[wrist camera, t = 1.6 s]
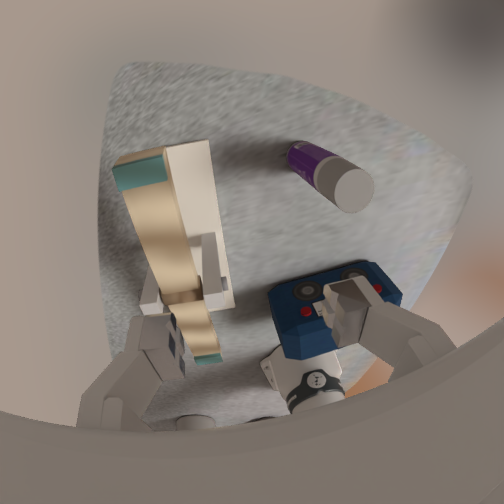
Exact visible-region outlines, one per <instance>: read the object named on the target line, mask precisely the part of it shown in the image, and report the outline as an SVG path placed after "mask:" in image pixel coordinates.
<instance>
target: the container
mask: <svg viewBox="0 0 504 504" xmlns="http://www.w3.org/2000/svg"><path fill="white" fill-rule="evenodd" d="M286 159H287V163H288V165H289V167H290V168H291V169H292V170H293V171H295V172H296V173H297V174H298V175H300V176H301V177H302V178H303V179H304V180H305V181H307V182H308V183H309V184H310V185H311V186H312V187H314V188H315V189H316V190H317V191H318V192H319V193H321V194H322V195H323V196H325V197H326V198H327V199H328V200H330V201H331V202H332V203H333V204H335V205H336V206H337V207H338V208H339V209H341V210H342V211H344V212H346V213H356V212H359V211H361V210H363V209H364V208H365V207H366V206H367V205H368V204H369V203H370V201H371V199H372V197H373V194H374V182H373V179H372V177H371V176H370V174H369V173H368V172H366V171H365V170H363V169H361V168H360V167H358V166H356V165H354V164H353V163H351V162H349V161H347V160H346V159H344V158H342V157H340V156H338V155H336V154H334V153H332V152H330V151H327V150H325V149H323V148H321V147H319V146H316V145H314V144H312V143H310V142H307V141H298V142H296V143H294V144H293V145H291V147H290V148H289V149H288V152H287V156H286Z"/></svg>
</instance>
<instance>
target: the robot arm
mask: <svg viewBox="0 0 504 504" xmlns="http://www.w3.org/2000/svg"><path fill="white" fill-rule="evenodd" d="M323 294H324V295H325V297H326V298H325V299H324V301H323V302H322V314H323V318H324V321H325V323H326V325H327V326H328V327H329V328H331V329H332V334H331V335H332V337H333V339H334V341H335V343H336V345H337V347H338V348H340V347H344V346H348V345H352V344H355V343H359V344H360V345H362V346H363V347H365V348H366V349H367V350H369V351H370V352H372V353H373V354H375V355H376V356H378V357H379V358H381V359H382V360H383V361H385V362H386V363H388V364H389V365H391V366H392V367H394V368H395V369H394V371H393V372H392V374H391V376H390V378H389V380H388V383H386V384H383V385H381V386H378V387H376V388H373V389H371V390H368V391H365V392H363V393H360V394H357V395H354V396H352V397H349V398H346V399H345V397H344V396H345V392H344V388H343V386H342V384H341V382H340V380H339V377H340V376H341V374H342V370H341V367H340V365H339V362H338V359H337V357H336V354H335V353H336V351H337V350H334V351H331V352H328V353H325V354H322V355H318V356H315V357H312V358H309V359H305V360H302V361H301V360H294V359H288V358H285V355H284V352H283V349H282V346H281V345H280V346H279V347H278V348H277V349H276V350H275V351H274V352H273V353H272V354H271V355H270V356H268V357H267V358H265V359H263V360H262V361H261V362H260V365H261V368H262V370H263V372H264V373H265V375H266V377H267V379H268V381H269V383H270V384H271V386H272V388H273V390H274V391H279V392H280V394H281V396H282V397H283V399H284V400H285V401H286V403H287V407H288V410H289V411H290V413H291V414H289V415H285V416H281V417H276V418H271V419H267V420H261V421H256V422H250V423H244V424H238V425H231V426H224V427H216V428H207V429H196V430H182V431H154V432H153V430H152V429H151V428H150V427H149V426H148V425H147V424H146V423H144V422H143V421H142V420H141V417H142V416H143V414H144V412H145V411H146V409H147V407H148V406H149V404H150V402H151V401H152V399H153V397H154V396H155V394H156V392H157V391H158V389H159V387H160V386H161V384H162V381H166V380H175V379H183V378H185V363H184V361H183V359H182V356H183V355H184V353H185V350H184V340H183V336H182V332H181V330H180V328H178V327H177V326H176V317H175V315H174V313H173V312H169V313H160V314H151V315H144V316H134V317H132V319H131V321H130V325H129V330H128V335H127V340H126V345H125V350H124V352H120V353H119V354H118V355H117V356H116V358H115V359H114V360H113V361H112V362H111V363H110V364H109V365H108V367H107V368H106V369H105V370H104V371H103V372H102V373H101V374H100V375H99V377H98V378H97V379H96V380H95V381H94V382H93V383H92V384H91V386H90V387H89V388H88V389H87V390H86V391H85V393H84V394H83V395H82V397H81V402H80V408H79V413H78V419H77V425H76V427H72V426H65V425H59V424H53V423H48V422H42V421H38V420H33V419H29V418H25V417H21V416H17V415H13V414H9V413H6V412H3V411H0V504H504V318H502V319H501V320H499V321H498V322H497V323H495V324H494V325H492V326H491V327H489V328H488V329H487V330H485V331H484V332H482V333H481V334H479V335H478V336H476V337H474V338H473V339H471V340H470V341H468V342H467V343H465V344H463V345H461V346H460V347H458V348H456V346H455V345H454V344H453V342H452V341H451V340H450V338H449V337H448V336H447V334H446V333H445V332H444V330H443V329H442V328H441V327H440V325H438V324H436V323H434V322H432V321H430V320H427V319H425V318H423V317H421V316H419V315H416V314H414V313H412V312H410V311H408V310H405V309H403V308H401V307H399V306H397V305H394V304H392V303H390V302H384V301H383V300H382V298H381V297H380V296H379V294H378V293H377V292H376V291H375V289H374V288H373V287H372V285H371V284H370V283H369V282H368V280H367V279H366V278H365V277H364V276H358V277H354V278H350V279H346V280H342V281H338V282H334V283H329V284H325V286H324V290H323Z"/></svg>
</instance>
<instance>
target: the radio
mask: <svg viewBox="0 0 504 504" xmlns="http://www.w3.org/2000/svg"><path fill="white" fill-rule="evenodd" d="M358 276H364V277H365V278H366V279H367V280H368V282H369V283H370V284H371V285H372V287H373V288H374V289H375V291H376V292H377V293H378V294H379V296H380V297H381V298H382V300H383V301H384V302H390V303H392V304H394V305H397V306H399V307H400V304H401V300H402V295H403V294H402V292H401V291H400V290H399V289H398V288H397V287H396V285H395V284H394V283H393V282H392V281H391V280H390V278H389V277H388V276H387V275H386V274H385V273H384V271H383V270H382V269H381V268H380V267H379V266H378V265H377V264H376V262H359V263H355V264H352V265H349V266H345V267H342V268H338V269H335V270H331V271H328V272H324V273H320V274H317V275H313V276H310V277H306V278H302V279H299V280H295V281H291V282H287V283H283V284H280V285H278V286H277V287H275V288H274V289H272V290H271V291H270V292H268V297H269V302H270V307H271V312H272V318H273V321H274V324H275V327H276V330H277V333H278V336H279V340H280V343H281V346H282V349H283V352H284V355H285V358H288V359H294V360H301V361H302V360H305V359H309V358H312V357H315V356H318V355H322V354H325V353H328V352H331V351H334V350H337V349H340V348H343V347H340V348H338V347H337V345H336V343H335V341H334V339H333V337H332V335H331V334H332V329H331V328H329V327H328V326H327V325H326V323H325V321H324V318H323V314H322V302H323V301H324V299H325V298H326V297H325V295H324V294H323V290H324V286H325V284H329V283H334V282H338V281H342V280H346V279H350V278H354V277H358ZM344 347H345V346H344Z"/></svg>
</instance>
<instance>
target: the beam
mask: <svg viewBox="0 0 504 504" xmlns="http://www.w3.org/2000/svg"><path fill="white" fill-rule="evenodd" d="M112 172H113V175H114V178H115V181H116V184H117V187H118V190H119V192H120V191H122V193H123V196H124V199H125V202H126V205H127V208H128V211H129V213H130V216H131V219H132V221H133V224H134V227H135V229H136V232H137V235H138V237H139V240H140V242H141V245H142V247H143V250H144V252H145V255H146V257H147V259H148V262H149V264H150V267H151V269H152V271H153V273H154V276H155V278H156V280H157V283H158V285H159V287H160V289H161V296H162V300H163V303H164V304H165V306H169V308H170V311H171V312H173V313H174V315H175V317H176V323H177V325H178V327H179V328H180V330H181V332H182V335H183V336H184V338H185V340H186V342H187V344H188V346H189V348H190V350H191V352H192V353H193V355H194V360H195V362H196V364H197V365H203V364H210V363H217V362H223V360H222V354H221V347H220V344H219V341H218V338H217V335H216V332H215V329H214V326H213V323H212V320H211V317H210V314H209V311H208V309H207V307H206V304H205V300H204V296H203V285H202V280H201V277H200V275H198V274H197V271H196V267H195V264H194V260H193V257H192V253H191V250H190V246H189V242H188V239H187V235H186V231H185V227H184V224H183V220H182V216H181V212H180V208H179V204H178V200H177V196H176V191H175V187H174V183H173V179H172V174H171V170H170V165H169V161H168V156H167V151H166V147H165V146H161V147H157V148H152V149H148V150H144V151H140V152H136V153H132V154H128V155H124V156H120V157H119V159H118V160H117V162H116V163H115V165H114V166H113V168H112Z"/></svg>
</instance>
